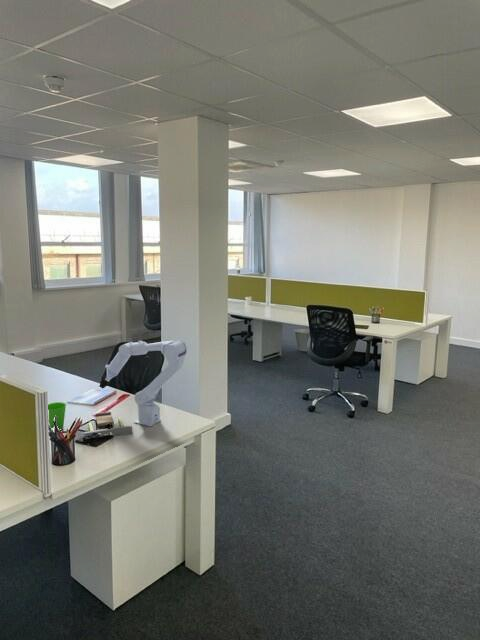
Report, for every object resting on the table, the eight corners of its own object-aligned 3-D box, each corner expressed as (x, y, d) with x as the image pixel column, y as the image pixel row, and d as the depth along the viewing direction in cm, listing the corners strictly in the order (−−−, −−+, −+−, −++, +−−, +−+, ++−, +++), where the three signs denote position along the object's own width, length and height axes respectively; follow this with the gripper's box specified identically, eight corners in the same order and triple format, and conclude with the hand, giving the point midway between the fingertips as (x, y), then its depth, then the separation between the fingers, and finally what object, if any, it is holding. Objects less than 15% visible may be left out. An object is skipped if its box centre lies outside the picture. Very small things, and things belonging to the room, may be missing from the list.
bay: (81, 428, 211) (81, 421, 211) (127, 421, 219) (126, 415, 219) (84, 440, 199) (84, 433, 199) (132, 432, 207) (132, 426, 206)
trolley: (95, 420, 219) (95, 413, 219) (111, 418, 222) (110, 411, 222) (97, 429, 210) (97, 421, 210) (114, 426, 213) (113, 419, 212)
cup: (60, 434, 205) (59, 410, 203) (41, 432, 207) (40, 408, 205) (71, 426, 214) (70, 402, 212) (53, 424, 215) (52, 401, 213)
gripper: (114, 350, 225) (101, 370, 231) (105, 366, 212) (91, 386, 217) (127, 358, 227) (113, 377, 232) (119, 375, 214) (104, 394, 219)
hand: (103, 382), depth 225 cm, fingers open, 7 cm apart
